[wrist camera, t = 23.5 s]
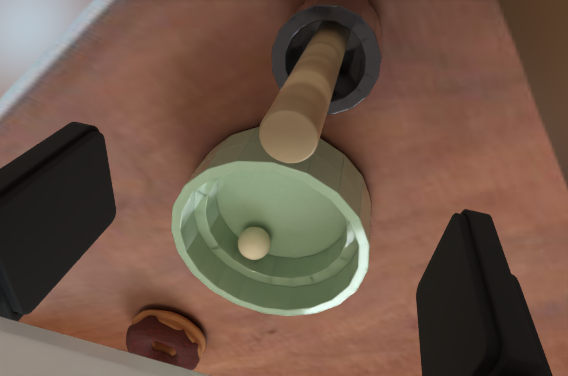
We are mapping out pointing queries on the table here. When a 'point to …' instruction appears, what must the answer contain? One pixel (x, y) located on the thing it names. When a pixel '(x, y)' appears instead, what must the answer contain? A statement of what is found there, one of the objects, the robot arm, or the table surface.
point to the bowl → (275, 226)
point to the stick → (305, 97)
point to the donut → (166, 338)
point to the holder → (358, 55)
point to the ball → (254, 243)
